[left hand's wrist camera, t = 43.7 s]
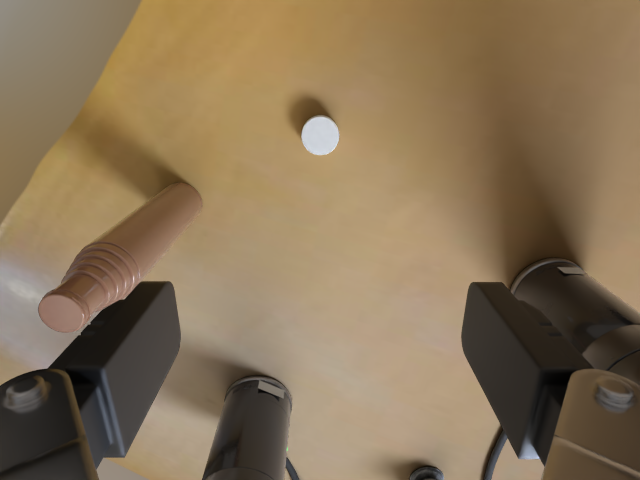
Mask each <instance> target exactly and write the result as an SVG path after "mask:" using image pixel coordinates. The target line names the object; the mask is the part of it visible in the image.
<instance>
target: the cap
mask: <svg viewBox="0 0 640 480" xmlns="http://www.w3.org/2000/svg"><path fill="white" fill-rule="evenodd" d="M338 141H339V131H338V128H337V125H336V123H335V122H334V121H333V120H332V119H331V118H329V117H327V116H324V115H316V116H313V117H311V118H310V119H309V120H307V122H306V123H305V125H304V127H303V130H302V142H303V144H304V146H305V148H306V149H307V150H308V151H310V152H311V153H313V154H316V155H325V154H328V153H330V152H331V151H332V150H333V149H334V148H335V147H336V146H337V144H338Z"/></svg>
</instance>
